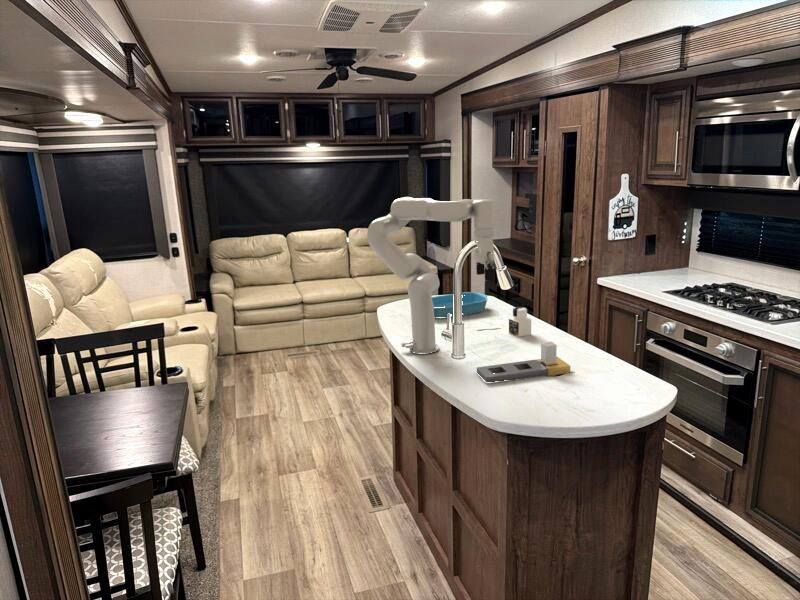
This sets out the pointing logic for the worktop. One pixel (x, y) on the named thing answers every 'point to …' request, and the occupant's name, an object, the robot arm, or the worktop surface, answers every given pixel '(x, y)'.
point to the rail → (521, 370)
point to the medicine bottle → (520, 322)
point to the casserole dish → (470, 305)
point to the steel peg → (548, 354)
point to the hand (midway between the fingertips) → (484, 276)
